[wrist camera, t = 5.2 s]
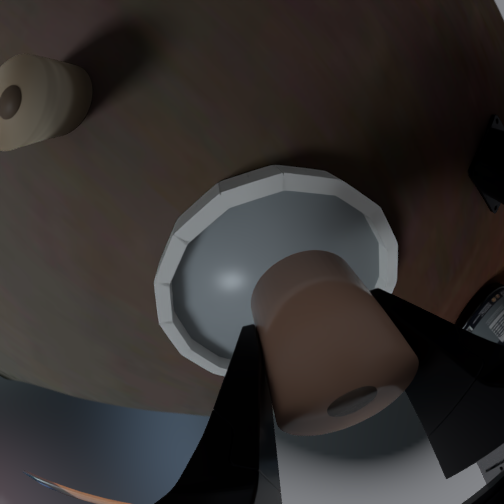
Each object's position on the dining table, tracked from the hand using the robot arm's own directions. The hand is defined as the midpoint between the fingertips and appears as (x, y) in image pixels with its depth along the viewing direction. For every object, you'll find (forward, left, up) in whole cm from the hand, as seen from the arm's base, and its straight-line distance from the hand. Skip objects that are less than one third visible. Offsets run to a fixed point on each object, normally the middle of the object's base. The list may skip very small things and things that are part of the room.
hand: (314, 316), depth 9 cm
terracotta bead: (0, 0, -1) cm, 1 cm away
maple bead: (+14, -2, -7) cm, 16 cm away
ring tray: (-2, +3, -7) cm, 8 cm away
